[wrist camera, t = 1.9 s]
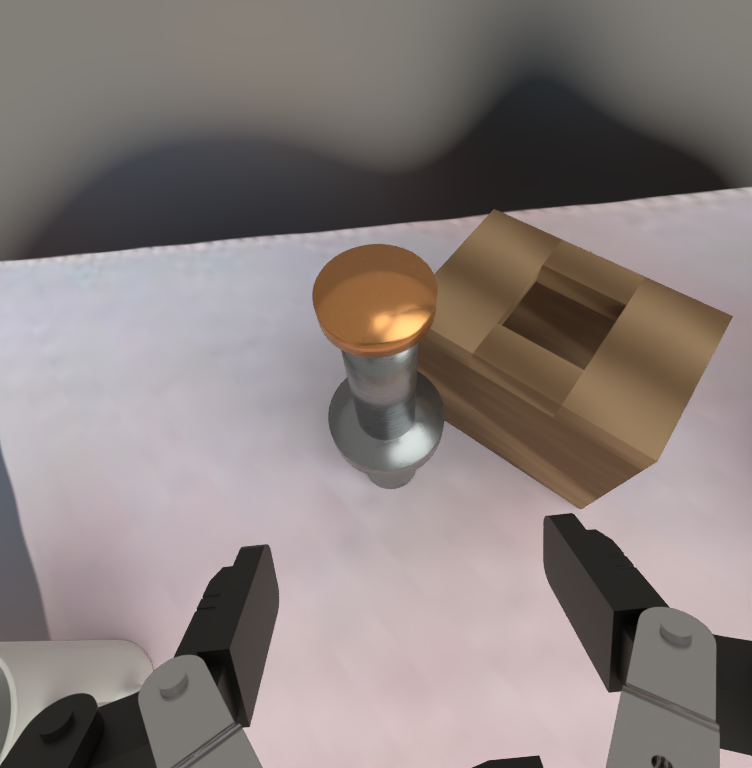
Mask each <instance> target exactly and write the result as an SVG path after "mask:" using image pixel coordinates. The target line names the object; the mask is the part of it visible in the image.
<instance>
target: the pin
mask: <svg viewBox="0 0 752 768" xmlns="http://www.w3.org/2000/svg"><path fill="white" fill-rule="evenodd" d="M436 304H437V282H436V279H435V276H434V274H433V272H432V270H431V269H430V267H429V266H428V265H427V264H426V263H425V262H424V260H422V259H421V258H420V257H419V256H417V255H416V254H414V253H412V252H410V251H408V250H406V249H403V248H400V247H397V246H392V245H385V244H372V245H364V246H359V247H356V248H352V249H350V250H347V251H345V252H343V253H341V254H339V255H338V256H336V257H335V258H333V259H332V260H331V261H330V262H328V263H327V264H326V265H325V267H324V268H323V269H322V270H321V272H320V273H319V275H318V277H317V278H316V281H315V284H314V287H313V305H314V308H315V312H316V315H317V319H318V322H319V325H320V328H321V330H322V332H323V333H324V335H325V336H326V337H327V339H328V340H329V341H330V342H331V343H332V344H334V345H335V346H336V347H338V348H339V349H341V351H342V355H343V360H344V364H345V368H346V372H347V376H348V378H346V379H345V380H344V381H343V382H342V383H341V385H340V386H339V387H338V389H337V390H336V392H335V394H334V396H333V398H332V400H331V404H330V407H329V427H330V431H331V434H332V437H333V439H334V442H335V444H336V446H337V448H338V450H339V452H340V453H341V455H342V456H343V457H344V459H345V460H346V461H347V462H348V463H349V464H351V465H352V466H353V467H355V468H356V469H358V470H359V471H362V472H364V473H366V474H367V475H368V477H369V478H370V479H371V481H372V482H373V483H375V484H376V485H378V486H380V487H382V488H386V489H396V488H400V487H402V486H404V485H406V484H407V483H408V482H409V481H410V480H411V479H412V478H413V476H414V474H415V471H416V469H418V468H419V467H421V466H422V465H423V464H424V463H426V462H427V461H428V460H429V459H430V457H431V456H432V455H433V454H434V452H435V451H436V449H437V447H438V445H439V443H440V439H441V436H442V431H443V426H444V405H443V402H442V398H441V396H440V394H439V392H438V390H437V389H436V387H435V386H434V385H433V383H432V382H431V381H430V380H429V379H428V378H427V377H426V376H424V375H423V374H421V373H420V372H418V371H417V364H418V343H419V342H420V341H421V340H422V339H423V338H424V336H425V335H426V334H427V333H428V331H429V330H430V328H431V326H432V324H433V321H434V318H435V313H436Z"/></svg>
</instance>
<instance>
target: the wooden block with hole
mask: <svg viewBox="0 0 752 768" xmlns="http://www.w3.org/2000/svg"><path fill="white" fill-rule="evenodd" d="M434 276H435V279H436V282H437V304H436V313H435V318H434V321H433V324H432V326H431V328H430V330H429V331H428V333H427V334H426V335H425V336H424V338H423V339H422V340H421V341H420V342H419V343H418V364H417V371H418V372H420V373H421V374H423V375H424V376H426V377H427V378H428V379H429V380H430V381H431V382H432V383H433V385H434V386H435V387H436V389H437V390H438V392H439V394H440V396H441V398H442V402H443V405H444V420H445V421H447V422H448V423H450V424H452V425H453V426H455V427H456V428H458V429H459V430H461V431H462V432H464V433H465V434H467V435H468V436H470V437H471V438H473V439H474V440H476V441H477V442H479V443H480V444H482V445H483V446H485V447H487V448H488V449H490V450H491V451H493V452H494V453H496V454H497V455H499V456H500V457H502V458H503V459H505V460H506V461H508V462H509V463H511V464H512V465H514V466H515V467H517V468H519V469H520V470H522V471H523V472H525V473H526V474H528V475H529V476H531V477H532V478H534V479H535V480H537V481H538V482H540V483H541V484H543V485H544V486H546V487H547V488H549V489H550V490H552V491H554V492H555V493H557V494H558V495H560V496H561V497H563V498H564V499H566V500H567V501H569V502H570V503H572V504H573V505H575V506H576V507H578V508H579V509H582V508H584V507H586V506H587V505H589V504H590V503H592V502H593V501H595V500H597V499H598V498H600V497H601V496H603V495H605V494H606V493H608V492H609V491H611V490H613V489H614V488H616V487H617V486H619V485H620V484H622V483H624V482H625V481H627V480H628V479H630V478H632V477H633V476H635V475H636V474H638V473H640V472H641V471H643V470H644V469H646V468H647V467H649V466H651V465H652V464H654V463H655V462H657V461H658V459H659V457H660V455H661V453H662V451H663V449H664V448H665V446H666V444H667V442H668V440H669V438H670V436H671V434H672V432H673V430H674V428H675V426H676V425H677V423H678V421H679V419H680V417H681V415H682V413H683V411H684V409H685V407H686V405H687V403H688V401H689V400H690V398H691V396H692V394H693V392H694V390H695V388H696V386H697V384H698V382H699V380H700V378H701V376H702V375H703V373H704V371H705V369H706V367H707V365H708V363H709V361H710V359H711V357H712V355H713V353H714V352H715V350H716V348H717V346H718V344H719V342H720V340H721V338H722V336H723V334H724V332H725V330H726V328H727V327H728V325H729V323H730V321H731V319H732V317H733V316H731V315H729V314H726V313H724V312H722V311H720V310H718V309H715V308H713V307H711V306H709V305H706V304H704V303H702V302H700V301H697V300H695V299H693V298H691V297H689V296H686V295H684V294H682V293H680V292H677V291H675V290H673V289H671V288H669V287H666V286H664V285H662V284H660V283H657V282H655V281H653V280H651V279H649V278H646V277H644V276H642V275H640V274H637V273H635V272H633V271H631V270H628V269H626V268H624V267H622V266H620V265H617V264H615V263H613V262H611V261H608V260H606V259H604V258H602V257H600V256H597V255H595V254H593V253H591V252H588V251H586V250H584V249H582V248H579V247H577V246H575V245H573V244H571V243H568V242H566V241H564V240H562V239H559V238H557V237H555V236H553V235H551V234H548V233H546V232H544V231H542V230H539V229H537V228H535V227H533V226H531V225H528V224H526V223H524V222H522V221H519V220H517V219H515V218H513V217H510V216H508V215H506V214H504V213H502V212H499V211H497V210H495V209H493V211H492V212H491V213H490V214H489V215H488V216H487V217H486V218H485V219H484V220H483V222H482V223H481V224H480V225H479V226H478V227H477V228H476V229H475V230H474V231H473V233H472V234H471V235H470V236H469V237H468V238H467V239H466V240H465V241H464V242H463V244H462V245H461V246H460V247H459V248H458V249H457V250H456V251H455V252H454V254H453V255H452V256H451V257H450V258H449V259H448V260H447V261H446V262H445V263H444V265H443V266H442V267H441V268H440V269H439V270H438V271H437V272H436V273H435V274H434Z"/></svg>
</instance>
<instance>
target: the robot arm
mask: <svg viewBox="0 0 752 768" xmlns="http://www.w3.org/2000/svg"><path fill="white" fill-rule="evenodd" d="M543 562H544V569H545V573H546V577H547V580H548V582H549V584H550V586H551V588H552V590H553V592H554V594H555V595H556V597H557V599H558V601H559V603H560V605H561V606H562V608H563V610H564V612H565V614H566V616H567V617H568V619H569V621H570V623H571V625H572V627H573V628H574V630H575V632H576V634H577V636H578V638H579V639H580V641H581V643H582V645H583V647H584V649H585V650H586V652H587V654H588V656H589V658H590V659H591V661H592V663H593V665H594V667H595V669H596V670H597V672H598V674H599V676H600V678H601V680H602V681H603V683H604V685H605V687H606V689H607V691H608V692H619V691H621V696H620V701H619V705H618V710H617V715H616V720H615V725H614V730H613V735H612V740H611V745H610V750H609V754H608V759H607V764H606V768H720V748H721V749H725V750H729V751H734V752H738V753H742V754H747V755H751V756H752V641H749V640H742V639H736V638H730V637H723V636H719V635H714V634H712V633H711V631H710V630H709V629H708V628H707V627H706V626H705V625H704V624H703V623H702V622H700V621H699V620H698V619H696V618H694V617H693V616H691V615H689V614H687V613H685V612H682V611H680V610H677V609H673V608H670V607H669V606H668V605H667V604H666V603H665V601H664V600H663V599H662V598H661V597H660V595H659V594H658V593H657V592H656V591H655V590H654V588H653V587H652V586H651V585H650V584H649V582H648V581H647V580H646V579H645V578H644V577H643V575H642V574H641V573H640V572H639V571H638V570H637V568H634V566H633V564H632V562H631V561H630V560H629V559H628V558H627V557H626V556H624V553H623V552H622V551H621V549H620V548H619V547H618V546H617V545H616V544H615V542H614V541H613V540H612V539H610V538H608V537H607V536H605V535H604V534H602V533H600V532H599V531H597V530H596V529H594V530H586V529H585V528H584V526H583V525H582V524H581V522H580V521H579V520H578V519H577V517H576V516H575V515H574V514H572V513H569V514H560V515H550V516H545V518H544V534H543ZM278 608H279V588H278V583H277V578H276V574H275V569H274V564H273V559H272V554H271V550H270V547H269V545H268V544H265V545H256V546H246V547H241V549H240V550H239V553H238V555H237V557H236V560H235V562H234V565H233V566H230V567H223V568H222V569H221V570H220V571H219V572H218V573H217V574H216V575H215V576H214V577H213V578H212V579H211V580H210V582H209V584H208V586H207V588H206V590H205V592H204V594H203V599H201V601H200V603H199V605H198V607H197V612H195V613H194V616H193V618H192V620H191V622H190V624H189V626H188V628H187V630H186V632H185V635H184V637H183V639H182V641H181V643H180V645H179V647H178V649H177V652H176V654H175V656H174V658H173V659H170V660H168V661H167V662H165V663H163V664H162V665H160V666H159V667H158V668H156V669H155V670H154V671H153V672H152V673H151V674H150V675H149V676H148V678H147V679H146V680H145V682H144V683H143V685H142V687H141V689H140V691H138V692H136V693H134V694H132V695H129V696H127V697H124V698H121V699H119V700H116V701H114V702H111V703H108V704H106V705H103V706H101V707H98V705H97V702H96V700H95V698H94V697H93V696H92V695H90V694H86V693H77V694H72V695H69V696H66V697H64V698H62V699H59V700H57V701H56V702H54V703H52V704H51V705H49V706H48V707H46V708H45V709H44V710H42V711H41V712H40V713H39V714H38V715H36V716H35V717H34V718H33V719H32V720H31V721H30V723H29V724H28V725H27V726H26V727H25V729H24V730H23V732H22V733H21V735H20V736H19V738H18V739H17V741H16V742H15V744H14V745H13V747H12V748H11V750H10V751H9V753H8V754H7V756H6V757H5V759H4V760H3V762H2V763H1V765H0V768H263V767H262V765H261V763H260V762H259V760H258V758H257V756H256V754H255V752H254V750H253V748H252V746H251V744H250V742H249V740H248V738H247V736H246V734H245V732H244V730H243V727H250V724H251V720H252V715H253V711H254V707H255V703H256V699H257V695H258V691H259V687H260V683H261V679H262V675H263V670H264V666H265V662H266V658H267V654H268V650H269V646H270V642H271V638H272V634H273V630H274V625H275V621H276V617H277V613H278ZM473 768H543V765H542V762H541V759H540V756H529V757H519V758H509V759H499V760H489V761H487V762H484V763H482V764H480V765H477V766H475V767H473Z"/></svg>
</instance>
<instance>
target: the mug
mask: <svg viewBox="0 0 752 768" xmlns="http://www.w3.org/2000/svg"><path fill="white" fill-rule="evenodd" d="M152 672H153V668H152V665H151V662H150V660H149V658H148V656H147V655H146V653H145V652H144V651H143V650H142V649H141V648H140V647H139V646H137V645H136V644H134V643H132V642H129V641H125V640H66V641H20V642H19V641H18V642H0V765H1V763H2V762H3V760H4V759H5V757H6V756H7V754H8V753H9V751H10V750H11V748H12V747H13V745H14V744H15V742H16V741H17V739H18V738H19V736H20V735H21V733H22V732H23V730H24V729H25V727H26V726H27V725H28V724H29V723H30V721H31V720H32V719H33V718H34V717H35V716H36V715H38V714H39V713H40V712H41V711H42V710H44V709H45V708H46V707H48V706H49V705H51V704H52V703H54V702H56V701H57V700H59V699H62V698H64V697H66V696H69V695H72V694H77V693H86V694H90V695H92V696H93V697H94V698H95V700H96V702H97V705H98V707H101V706H103V705H106V704H108V703H111V702H114V701H116V700H119V699H121V698H124V697H127V696H129V695H132V694H134V693H136V692H138V691H140V689H141V687H142V685H143V683H144V682H145V680H146V679H147V678H148V676H149V675H150V674H151V673H152Z"/></svg>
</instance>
